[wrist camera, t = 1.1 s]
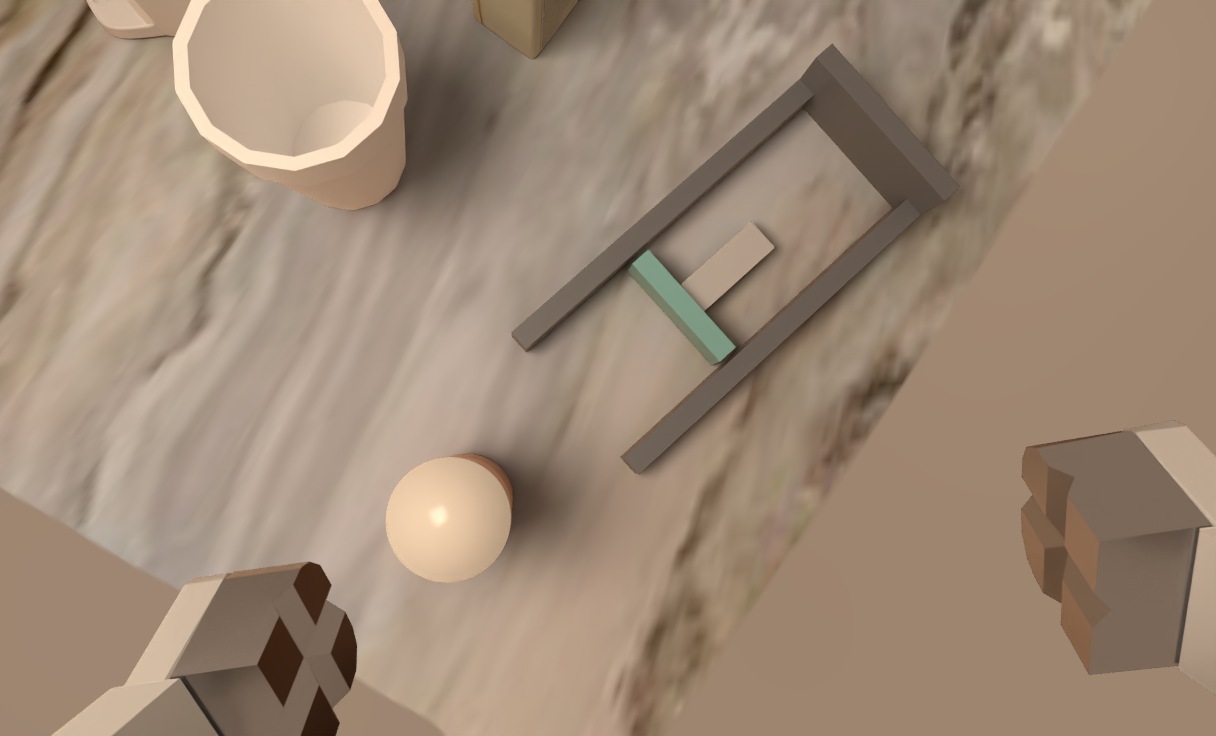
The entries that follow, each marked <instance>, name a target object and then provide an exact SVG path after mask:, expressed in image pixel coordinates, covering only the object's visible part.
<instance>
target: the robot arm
mask: <svg viewBox="0 0 1216 736" xmlns="http://www.w3.org/2000/svg"><path fill="white" fill-rule="evenodd" d="M86 1H87V3H88V5H89V6H90V8H91V10H92V11H93V13H94V15H95V16H96V18H97V19H98V21H99V22H100V23H101V25H102V26H103V27H104V29H105V30H106V31H107V32H108V33H110V34H111V35H113V36H115V37H119V38H128V39H132V38H146V37H155V36H163V35H168V36H175V35H176V33H177V31H178V29H179V26H180V24H181V22H182V20H183V17H184V15H185V13H186V11H187V8H188V6H189V4H190V2H191V0H86ZM1022 478H1023V480H1024V481H1025V483H1026V485H1027V486H1028V488H1029V490H1030V491H1031V493H1032V494H1033V495H1032V496H1031V498H1030V499H1029V500H1028V501H1027V502H1026V504H1025V505H1024V506H1023V507H1022V509H1021V520H1022V536H1023V540H1024V546H1025V551H1026V556H1027V559H1028V561H1029V564H1030V567H1031V569H1032V572H1033V574H1034V577H1035V578H1036V580H1037V582H1038V584H1039V586H1040V588H1041V590H1042V592H1043V593H1044V594H1046V595H1048V596H1049V597H1051V598H1053V599H1055V600H1056V601H1058V602H1060V603H1062V608H1061V626H1062V628H1063V630H1064V631H1065V633H1066V635H1067V636H1068V638H1069V640H1070V642H1071V643H1072V645H1073V647H1074V649H1075V651H1076V652H1077V654H1078V656H1079V658H1080V660H1081V661H1082V663H1083V665H1084V667H1085V668H1086V670H1087V672H1088V674H1089V675H1092V674H1102V673H1110V672H1121V671H1131V670H1140V669H1149V668H1160V667H1170V666H1179V668H1178V670H1179V671H1181V672H1182V673H1184V674H1185V675H1187V676H1188V677H1190V678H1191V679H1192V680H1194V681H1196V682H1197V683H1198V684H1200V685H1201V686H1203V687H1204V688H1206V689H1207V690H1208V691H1210V692H1211V693H1213V694H1214V695H1216V456H1215V455H1214V454H1213V453H1212V452H1211V451H1210V450H1209V449H1208V448H1207V447H1206V446H1205V445H1204V444H1203V443H1202V442H1201V441H1200V440H1199V439H1198V438H1197V437H1196V436H1195V435H1194V434H1193V433H1192V432H1191V431H1190V430H1189V428H1188V427H1187V426H1185V425H1184V424H1182V423H1180V422H1177V421H1174V420H1172V421H1167V422H1162V423H1156V424H1151V425H1145V426H1140V427H1134V428H1129V429H1124V430H1123V431H1120V432H1113V433H1107V434H1101V435H1095V436H1089V437H1083V438H1077V439H1071V440H1064V441H1058V442H1053V443H1047V444H1041V445H1034V446H1029V447H1026V449H1025V452H1024V455H1023V459H1022ZM330 588H331V583H330V581H329V580H328V578H327V576H326V574H325V573H324V571H323V569H322V567H321V566H320V565H319V564H315V563H312V562H303V563H296V564H288V565H281V566H274V567H266V568H259V569H252V570H244V571H237V572H233V573H227V574H220V575H213V576H206V577H199V578H195V579H194V580H192V581H190V582H189V583H187V584H185V585H184V587H183V588H182V590H181V592H180V593H179V595H178V597H177V599H176V600H175V602H174V604H173V605H172V607H171V608H170V610H169V612H168V613H167V615H166V617H165V618H164V620H163V622H162V623H161V625H160V627H159V629H158V630H157V632H156V634H155V635H154V637H153V638H152V640H151V642H150V644H149V645H148V647H147V649H146V651H145V652H144V654H143V655H142V657H141V659H140V660H139V662H138V664H137V665H136V667H135V669H134V670H133V672H132V674H131V675H130V677H129V679H128V680H127V682H126V684H125V685H124V686H121V687H115V688H111V689H110V690H109V691H107V692H106V693H105V694H103V695H102V696H101V697H100V698H98V699H97V700H96V701H95V702H93V703H92V704H91V705H89V706H88V707H87V708H86V709H85V710H83V711H82V712H81V713H79V714H78V715H77V716H76V717H74V718H73V719H72V720H70V721H69V722H68V723H67V724H66V725H64V726H63V727H62V728H60V729H59V730H58V731H56V732H55V733H54V734H53V735H52V736H336V733H337V730H338V727H339V724H340V723H339V720H338V719H337V717H336V714H335V712H334V710H333V707H334V706H335V705H336V704H337V703H338V702H339V701H340V700H341V699H342V698H343V697H344V696H345V695H346V694H347V693H348V692H349V691H350V689H351V686H352V683H353V679H354V676H355V673H356V664H357V643H356V639H355V635H354V631H353V627H352V625H351V622H350V620H349V618H348V616H347V614H346V612H345V611H343V610H342V609H340V608H338V607H337V606H335V605H333V604H332V603H330V602H329V601H327V600H326V599H327V596H328V594H329V591H330Z"/></svg>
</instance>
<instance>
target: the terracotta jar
mask: <svg viewBox="0 0 1216 736" xmlns="http://www.w3.org/2000/svg"><path fill="white" fill-rule="evenodd" d="M513 503H514V500H513V490H512V486H511V483H510V481H509V479H508V477H507V475H506V474H505V472H504V471H503V470H502V469H501V468H500V467H499V466H498V465H497V464H496V463H494V462H493V461H491V460H490V459H488V458H486V457H483V456H480V455H476V454H459V455H455V456H451V457H443V458H437V459H434V460H430V461H427V462H425V463H423V464H421V465H419V466H417V467H415V468H414V469H412V470H411V471H410V472H409V473H407V474H406V475H405V476H404V477H403V478H402V479H401V481H400V482H399V483H398V485H397V486H396V488H395V489H394V491H393V493H392V495H391V497H390V500H389V503H388V507H387V512H386V531H387V536H388V539H389V543H390V545H391V547H392V549H393V551H394V553H395V555H396V556H397V557H398V559H399V560H400V561H401V562H402V563H403V564H404V565H405V566H406V567H407V568H408V569H409V570H411V571H412V572H413V573H415V574H417V575H419V576H420V577H423V578H425V579H428V580H432V581H436V582H457V581H462V580H466V579H469V578H471V577H474V576H476V575H478V574H479V573H481V572H483V571H484V570H485V569H487V568H488V567H489V566H490V565H491V564H492V563H493V562H494V561H495V560H496V559H497V557H498V556H499V555H500V553H501V552H502V550H503V548H504V546H505V544H506V542H507V539H508V536H509V532H510V527H511V514H512V510H513Z"/></svg>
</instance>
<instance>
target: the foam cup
mask: <svg viewBox="0 0 1216 736" xmlns="http://www.w3.org/2000/svg"><path fill="white" fill-rule="evenodd" d="M172 43H173V59H174V76H175V91H176V93H177V95H178V97H179V98H180V100H181V102H182V103H183V105H184V107H185V108H186V110H187V112H188V114H189V115H190V117H191V119H192V120H193V122H194V124H195V125H196V127H197V129H198V131H199V132H200V134H201V135H202V136H203V137H204V138H205V139H206V140H207V141H209V142H210V143H211V144H212V145H213V146H214V147H215V148H216V149H217V150H219V151H220V152H221V153H222V154H224V155H225V156H227V157H228V158H230V159H231V160H233V161H234V162H236V163H237V164H239V165H240V166H242V167H243V168H245V169H246V170H248V171H249V172H251V173H252V174H254V175H255V176H257V177H259V178H260V179H265V180H271V181H276V182H278V183H280V184H282V185H284V186H286V187H288V188H290V189H292V190H294V191H296V192H299V193H301V194H303V195H305V196H307V197H309V198H311V199H313V200H315V201H317V202H319V203H321V204H323V205H325V206H328V207H333V208H340V209H347V210H353V211H354V210H357V209H361V208H364V207H368V206H371V205H374V204H378V203H379V202H380V201H381V200H382V199H384V198H385V197H386V196H387V195H388V194H389V193H390V192H391V191H393V190H394V189H395V188H396V187H397V185H398V182H399V180H400V177H401V175H402V172H403V170H404V168H405V165H406V151H405V127H404V107H405V105H406V103H407V100H408V97H407V84H406V71H405V58H404V52H403V49H402V46H401V43H400V40H399V37H398V34H397V31H396V30H395V28H394V26H393V25H392V23H391V21H390V20H389V18H388V16H387V15H386V13H385V11H384V10H383V8H382V6H381V4H380V3H379V1H378V0H191V2H190V4H189V6H188V8H187V11H186V13H185V15H184V17H183V20H182V22H181V24H180V26H179V29H178V31H177V33H176V35H175V38H174V40H173V42H172Z"/></svg>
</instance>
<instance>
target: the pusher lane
mask: <svg viewBox="0 0 1216 736" xmlns="http://www.w3.org/2000/svg"><path fill="white" fill-rule="evenodd" d="M802 108H804V109H805V110H806V111H807V112H808V114H809V115H810V116H811V117H812V118H813V119H814V120H815V121H816V122H817V124H818V125H819V126H820V127H821V128H822V129H823V130H824V131H825V133H826V134H827V135H828V136H829V137H830V138H831V139H832V140H833V141H834V143H835V144H836V145H837V146H838V147H839V148H840V149H841V150H842V151H843V153H844V154H845V155H846V156H847V157H848V158H849V159H850V160H851V162H852V163H853V164H854V165H855V166H856V167H857V168H858V169H859V170H860V172H861V173H862V174H863V175H864V176H865V177H866V178H867V179H868V181H869V182H870V183H871V184H872V185H873V186H874V187H875V188H876V189H877V191H878V192H879V193H880V194H881V195H882V196H883V197H884V198H885V200H886V201H887V202H888V203H889V204H890V205H891V206H892V207H893V208H892V209H891V210H890V211H889V212H887V213H886V214H885V215H884V216H883V217H882V218H881V219H880V220H879V221H878V222H877V223H875V224H874V225H873V226H872V227H871V228H870V229H869V230H868V231H867V232H866V233H865V234H863V235H862V236H861V237H860V238H859V239H858V240H857V241H856V242H855V243H854V244H853V245H851V246H850V247H849V248H848V249H847V250H846V251H845V252H844V253H843V254H842V255H841V256H839V257H838V258H837V259H836V260H835V261H834V262H833V263H832V264H831V265H830V266H829V267H827V268H826V269H825V270H824V271H823V272H822V273H821V274H820V275H819V276H818V277H816V278H815V279H814V280H813V281H812V282H811V283H810V284H809V285H808V286H807V287H806V288H804V289H803V290H802V291H801V292H800V293H799V294H798V295H797V296H796V297H795V298H794V299H792V300H791V301H790V302H789V303H788V304H787V305H786V306H785V307H784V308H783V309H782V310H780V311H779V312H778V313H777V314H776V315H775V316H774V317H773V318H772V319H771V320H770V321H768V322H767V323H766V324H765V325H764V326H763V327H762V328H761V329H760V330H759V331H757V332H756V333H755V334H754V335H753V336H752V337H751V338H750V339H749V340H748V341H747V342H745V343H744V344H743V345H742V346H741V347H740V348H739V349H738V350H737V351H736V352H735V353H733V354H732V355H731V356H730V357H729V358H728V359H727V360H726V361H725V362H724V363H723V364H721V365H720V366H719V367H718V368H717V369H716V370H715V371H714V372H713V373H712V374H711V375H709V376H708V377H707V378H706V379H705V380H704V381H703V382H702V383H701V384H700V385H699V386H697V387H696V388H695V389H694V390H693V391H692V392H691V393H690V394H689V395H688V396H686V397H685V398H684V399H683V400H682V401H681V402H680V403H679V404H678V405H677V406H676V407H674V408H673V409H672V410H671V411H670V412H669V413H668V414H667V415H666V416H665V417H664V418H662V419H661V420H660V421H659V422H658V423H657V424H656V425H655V426H654V427H653V428H652V429H650V430H649V431H648V432H647V433H646V434H645V435H644V436H643V437H642V438H641V439H640V440H638V441H637V442H636V443H635V444H634V445H633V446H632V447H631V448H630V449H629V450H628V451H626V452H625V453H624V454H623V455H622V456H621V458H622V459H623V461H624V462H625V463H626V464H627V465H628V466H629V467H630V468H631V469H632V471H633V472H634V473H636V474H640V473H641V472H642V471H643V470H644V469H645V468H646V467H647V466H648V465H649V464H650V463H652V462H653V461H654V460H655V459H656V458H657V457H658V456H659V455H660V454H661V453H662V452H664V451H665V450H666V449H667V448H668V447H669V446H670V445H671V444H672V443H673V442H674V441H675V440H677V439H678V438H679V437H680V436H681V435H682V434H683V433H684V432H685V431H686V430H687V429H688V428H690V427H691V426H692V425H693V424H694V423H695V422H696V421H697V420H698V419H699V418H700V417H702V416H703V415H704V414H705V413H706V412H707V411H708V410H709V409H710V408H711V407H712V406H713V405H715V404H716V403H717V402H718V401H719V400H720V399H721V398H722V397H723V396H724V395H725V394H726V393H728V392H729V391H730V390H731V389H732V388H733V387H734V386H735V385H736V384H737V383H738V382H739V381H741V380H742V379H743V378H744V377H745V376H746V375H747V374H748V373H749V372H750V371H751V370H753V369H754V368H755V367H756V366H757V365H758V364H759V363H760V362H761V361H762V360H763V359H764V358H766V357H767V356H768V355H769V354H770V353H771V352H772V351H773V350H774V349H775V348H776V347H777V346H779V345H780V344H781V343H782V342H783V341H784V340H785V339H786V338H787V337H788V336H789V335H791V334H792V333H793V332H794V331H795V330H796V329H797V328H798V327H799V326H800V325H801V324H802V323H804V322H805V321H806V320H807V319H808V318H809V317H810V316H811V315H812V314H813V313H814V312H815V311H817V310H818V309H819V308H820V307H821V306H822V305H823V304H824V303H825V302H826V301H827V300H829V299H830V298H831V297H832V296H833V295H834V294H835V293H836V292H837V291H838V290H839V289H840V288H842V287H843V286H844V285H845V284H846V283H847V282H848V281H849V280H850V279H851V278H852V277H853V276H855V275H856V274H857V273H858V272H859V271H860V270H861V269H862V268H863V267H864V266H865V265H866V264H868V263H869V262H870V261H871V260H872V259H873V258H874V257H875V256H876V255H877V254H878V253H880V252H881V251H882V250H883V249H884V248H885V247H886V246H887V245H888V244H889V243H890V242H891V241H893V240H894V239H895V238H896V237H897V236H898V235H899V234H900V233H901V232H902V231H903V230H904V229H906V228H907V227H908V226H909V225H910V224H911V223H912V222H913V221H914V220H915V219H916V218H918V217H919V216H920V215H921V214H923V213H924V212H926V211H928V210H930V209H931V208H933V207H935V206H937V205H939V204H940V203H942V202H944V201H945V200H946V199H948V198H949V197H950V196H951V195H952V194H953V193H954V192H955V191H956V190H957V189H958V188H959V187H960V186H959V185H958V184H957V183H956V181H955V180H954V179H953V178H952V177H951V176H950V175H949V174H948V172H947V171H946V170H945V169H944V168H943V167H942V166H941V165H940V164H939V162H938V161H937V160H936V159H935V158H934V157H933V156H932V155H931V153H930V152H929V151H928V150H927V149H926V148H925V147H924V146H923V145H922V143H921V142H920V141H919V140H918V139H917V138H916V137H915V136H914V134H913V133H912V132H911V131H910V130H909V129H908V128H907V127H906V126H905V124H904V123H903V122H902V121H901V120H900V119H899V118H898V117H897V115H896V114H895V113H894V112H893V111H892V110H891V109H890V108H889V107H888V105H887V104H886V103H885V102H884V101H883V100H882V99H881V98H880V97H879V95H878V94H877V93H876V92H875V91H874V90H873V89H872V88H871V86H870V85H869V84H868V83H867V82H866V81H865V80H864V79H863V78H862V76H861V75H860V74H859V73H858V72H857V71H856V70H855V69H854V67H853V66H852V65H851V64H850V63H849V62H848V61H847V60H846V59H845V57H844V56H843V55H842V54H841V53H840V52H839V51H838V50H837V48H836V47H835V46H834V45H833V44H831V45H830V46H829V47H828V48H827V49H825V50H824V51H823V52H822V53H821V54H820V55H819V56H818V57H816V59H815V60H814V61H813V63H812V64H811V65H810V67H809V68H808V69H807V70H806V72H805V73H804V74H803V76H802V77H801V78H800V80H798V81H797V82H796V83H795V84H794V85H793V86H792V87H790V88H789V89H788V90H787V91H786V92H785V93H784V94H783V95H781V96H780V97H779V98H778V99H777V100H776V101H775V102H773V103H772V104H771V105H770V106H769V107H768V108H767V109H765V110H764V111H763V112H762V113H761V114H760V115H759V116H757V117H756V118H755V119H754V120H753V121H752V122H751V123H749V124H748V125H747V126H746V127H745V128H744V129H743V130H742V131H740V132H739V133H738V134H737V135H736V136H735V137H734V138H732V139H731V140H730V141H729V142H728V143H727V144H726V145H724V146H723V147H722V148H721V149H720V150H719V151H718V152H716V153H715V154H714V155H713V156H712V157H711V158H710V159H709V160H707V161H706V162H705V163H704V164H703V165H702V166H701V167H699V168H698V169H697V170H696V171H695V172H694V173H693V174H691V175H690V176H689V177H688V178H687V179H686V180H685V181H683V182H682V183H681V184H680V185H679V186H678V187H677V188H675V189H674V190H673V191H672V192H671V193H670V194H669V195H668V196H666V197H665V198H664V199H663V200H662V201H661V202H660V203H658V204H657V205H656V206H655V207H654V208H653V209H652V210H650V211H649V212H648V213H647V214H646V215H645V216H644V217H642V218H641V219H640V220H639V221H638V222H637V223H636V224H634V225H633V226H632V227H631V228H630V229H629V230H628V231H627V232H625V233H624V234H623V235H622V236H621V237H620V238H619V239H617V240H616V241H615V242H614V243H613V244H612V245H611V246H609V247H608V248H607V249H606V250H605V251H604V252H603V253H601V254H600V255H599V256H598V257H597V258H596V259H595V260H593V261H592V262H591V263H590V264H589V265H588V266H587V267H586V268H584V269H583V270H582V271H581V272H580V273H579V274H578V275H576V276H575V277H574V278H573V279H572V280H571V281H570V282H568V283H567V284H566V285H565V286H564V287H563V288H562V289H560V290H559V291H558V292H557V293H556V294H555V295H554V296H553V297H551V298H550V299H549V300H548V301H547V302H546V303H545V304H543V305H542V306H541V307H540V308H539V309H538V310H537V311H535V312H534V313H533V314H532V315H531V316H530V317H529V318H527V319H526V320H525V321H524V322H523V323H522V324H521V325H519V326H518V327H517V328H516V329H515V330H514V331H513V332H512V337H513V338H514V339H515V340H516V341H517V343H518V344H519V345H520V346H521V347H522V348H523V349H524V350H525V351H526V352H527V351H528V350H529V349H531V348H532V347H533V346H534V345H535V344H536V343H537V342H538V341H540V340H541V339H542V338H543V337H544V336H545V335H546V334H548V333H549V332H550V331H551V330H552V329H553V328H554V327H555V326H557V325H558V324H559V323H560V322H561V321H562V320H563V319H564V318H566V317H567V316H568V315H569V314H570V313H571V312H572V311H574V310H575V309H576V308H577V307H578V306H579V305H580V304H581V303H583V302H584V301H585V300H586V299H587V298H588V297H589V296H591V295H592V294H593V293H594V292H595V291H596V290H597V289H598V288H600V287H601V286H602V285H603V284H604V283H605V282H606V281H607V280H609V279H610V278H611V277H612V276H613V275H614V274H615V273H617V272H618V271H619V270H620V269H621V268H622V267H623V266H624V265H626V264H627V263H628V262H629V261H630V260H631V259H632V258H634V257H635V256H636V255H637V254H638V253H639V252H640V251H641V250H643V249H644V248H645V247H646V246H647V245H648V244H649V243H650V242H652V241H653V240H654V239H655V238H656V237H657V236H658V235H660V234H661V233H662V232H663V231H664V230H665V229H666V228H667V227H669V226H670V225H671V224H672V223H673V222H674V221H675V220H677V219H678V218H679V217H680V216H681V215H682V214H683V213H684V212H686V211H687V210H688V209H689V208H690V207H691V206H692V205H693V204H695V203H696V202H697V201H698V200H699V199H700V198H701V197H703V196H704V195H705V194H706V193H707V192H708V191H709V190H710V189H712V188H713V187H714V186H715V185H716V184H717V183H718V182H720V181H721V180H722V179H723V178H724V177H725V176H726V175H727V174H729V173H730V172H731V171H732V170H733V169H734V168H735V167H737V166H738V165H739V164H740V163H741V162H742V161H743V160H744V159H746V158H747V157H748V156H749V155H750V154H751V153H752V152H753V151H755V150H756V149H757V148H758V147H759V146H760V145H761V144H763V143H764V142H765V141H766V140H767V139H768V138H769V137H770V136H772V135H773V134H774V133H775V132H776V131H777V130H778V129H780V128H781V127H782V126H783V125H784V124H785V123H786V122H787V121H789V120H790V119H791V118H792V117H793V116H794V115H795V114H796V113H798V112H799V111H800V110H801V109H802Z"/></svg>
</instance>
